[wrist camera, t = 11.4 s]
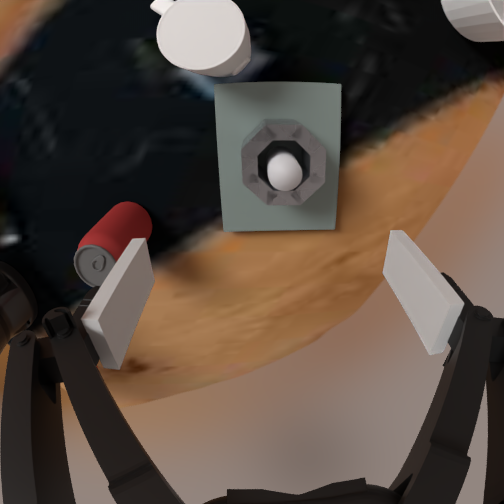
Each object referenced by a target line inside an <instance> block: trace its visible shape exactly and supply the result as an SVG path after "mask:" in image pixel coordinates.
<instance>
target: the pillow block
mask: <svg viewBox="0 0 504 504" xmlns="http://www.w3.org/2000/svg"><path fill="white" fill-rule="evenodd" d="M214 93H215V112H216V129H217V146H218V161H219V176H220V190H221V204H222V217H223V229H224V232H233V231H272V230H327V229H335V222H336V210H337V196H338V180H339V160H340V133H341V84H332V83H313V82H243V83H224V84H214ZM264 119H295V120H296V121H297V122H299V123H300V124H302V125H303V126H304V127H305V128H306V129H307V130H308V131H309V132H310V133H311V134H312V135H313V136H314V137H315V138H316V139H317V140H318V142H319V143H320V144H321V145H322V146H323V147H324V148H325V149H326V169H325V183H324V184H323V185H322V186H321V187H320V188H319V189H317V190H316V191H315V192H314V193H313V194H312V195H311V196H310V197H309V198H308V199H307V200H306V201H304V202H303V203H302V204H301V205H266V204H265V203H264V202H263V201H262V200H261V199H259V198H258V197H257V196H256V195H255V194H254V193H253V192H252V191H250V190H249V189H248V188H247V187H246V186H245V185H244V184H243V183H242V161H241V148H242V144H243V140H244V139H245V138H246V137H247V136H248V135H249V134H250V133H251V132H252V131H253V130H254V129H255V128H256V127H257V126H258V125H259V124H260V123H261V122H262V121H263V120H264ZM257 160H258V164H259V165H260V166H262V167H263V168H264V169H265V170H266V171H267V172H268V178H269V181H270V183H271V185H272V186H273V187H275V188H276V189H278V190H281V191H289V190H292V189H294V188H296V187H297V186H298V185H299V184H300V182H301V180H302V169H301V167H300V164H301V163H302V146H301V145H300V144H299V143H297V142H296V141H295V140H273V141H272V142H271V143H270V144H269V145H268V146H267V147H266V148H265V149H264V150H263V151H262V152H261V153H260V154H259V155H258V156H257Z"/></svg>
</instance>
